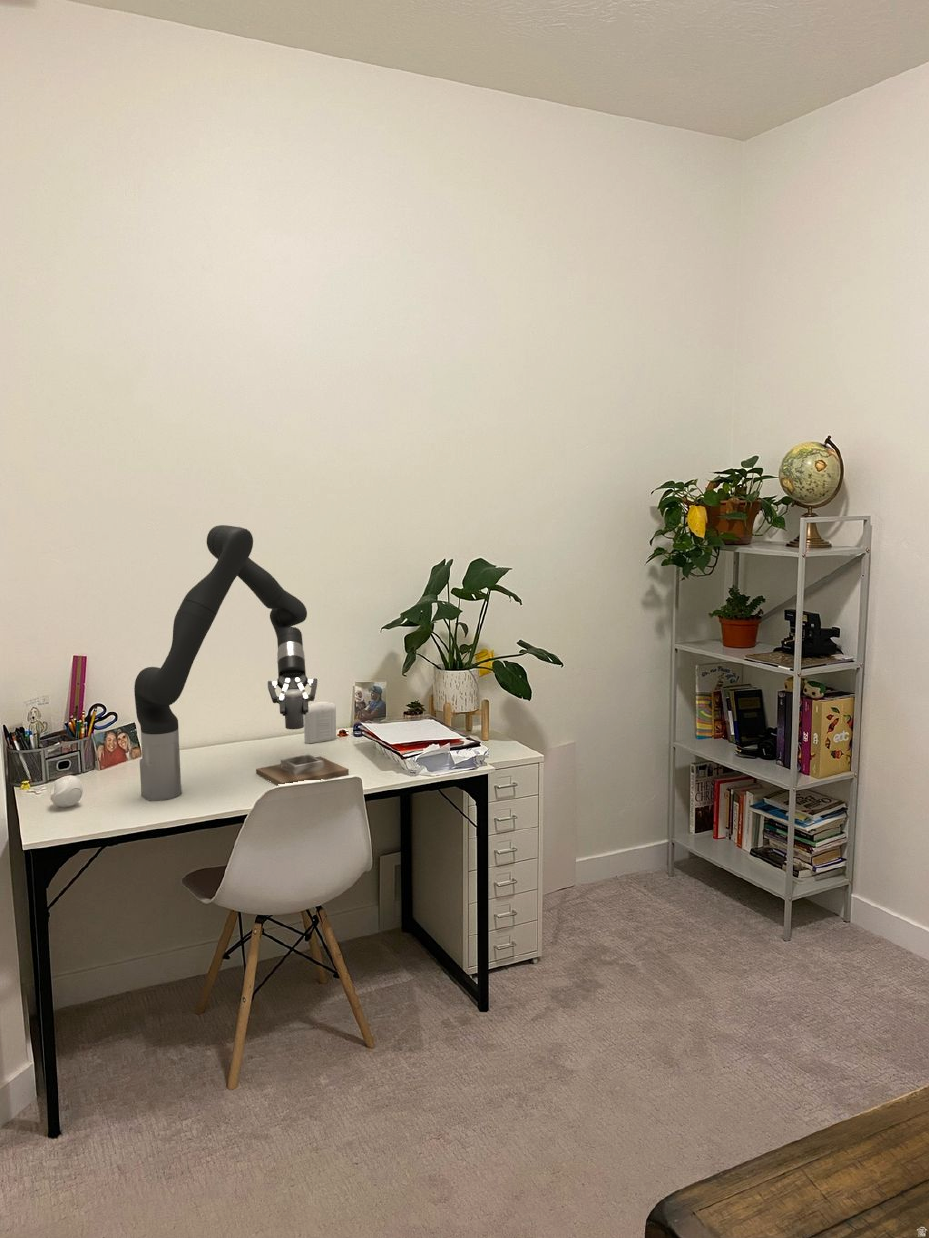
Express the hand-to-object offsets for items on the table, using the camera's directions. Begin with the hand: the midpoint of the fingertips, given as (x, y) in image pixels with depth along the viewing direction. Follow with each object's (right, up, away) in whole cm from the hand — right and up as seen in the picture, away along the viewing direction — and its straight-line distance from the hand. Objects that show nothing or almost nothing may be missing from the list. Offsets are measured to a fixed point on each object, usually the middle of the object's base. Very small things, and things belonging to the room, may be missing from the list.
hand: (294, 713), depth 258 cm
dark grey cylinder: (0, -4, +2) cm, 5 cm away
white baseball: (-53, -21, -20) cm, 61 cm away
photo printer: (+1, -13, +41) cm, 43 cm away
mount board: (+1, -17, +6) cm, 19 cm away
